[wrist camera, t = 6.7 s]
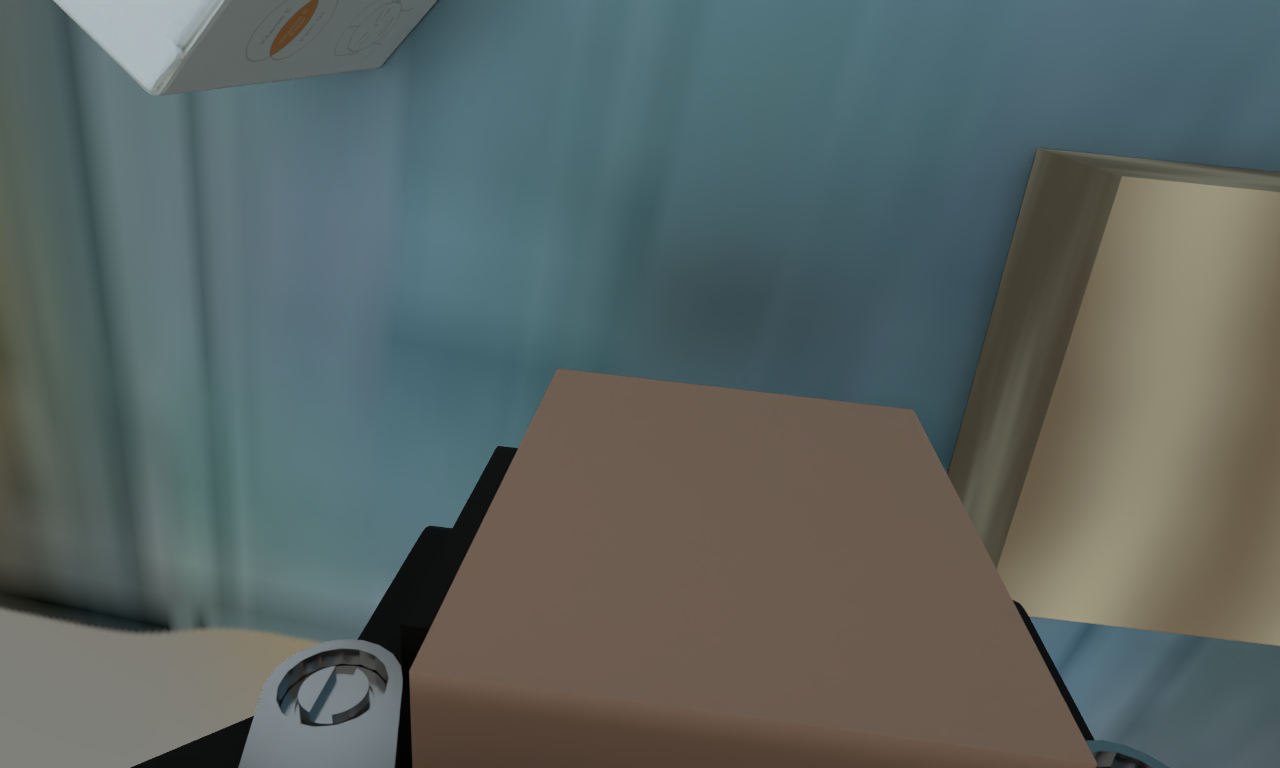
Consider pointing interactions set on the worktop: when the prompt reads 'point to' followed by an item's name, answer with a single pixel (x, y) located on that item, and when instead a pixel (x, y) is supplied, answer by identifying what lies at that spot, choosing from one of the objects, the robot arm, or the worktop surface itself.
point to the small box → (243, 38)
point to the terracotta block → (730, 598)
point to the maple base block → (1134, 399)
